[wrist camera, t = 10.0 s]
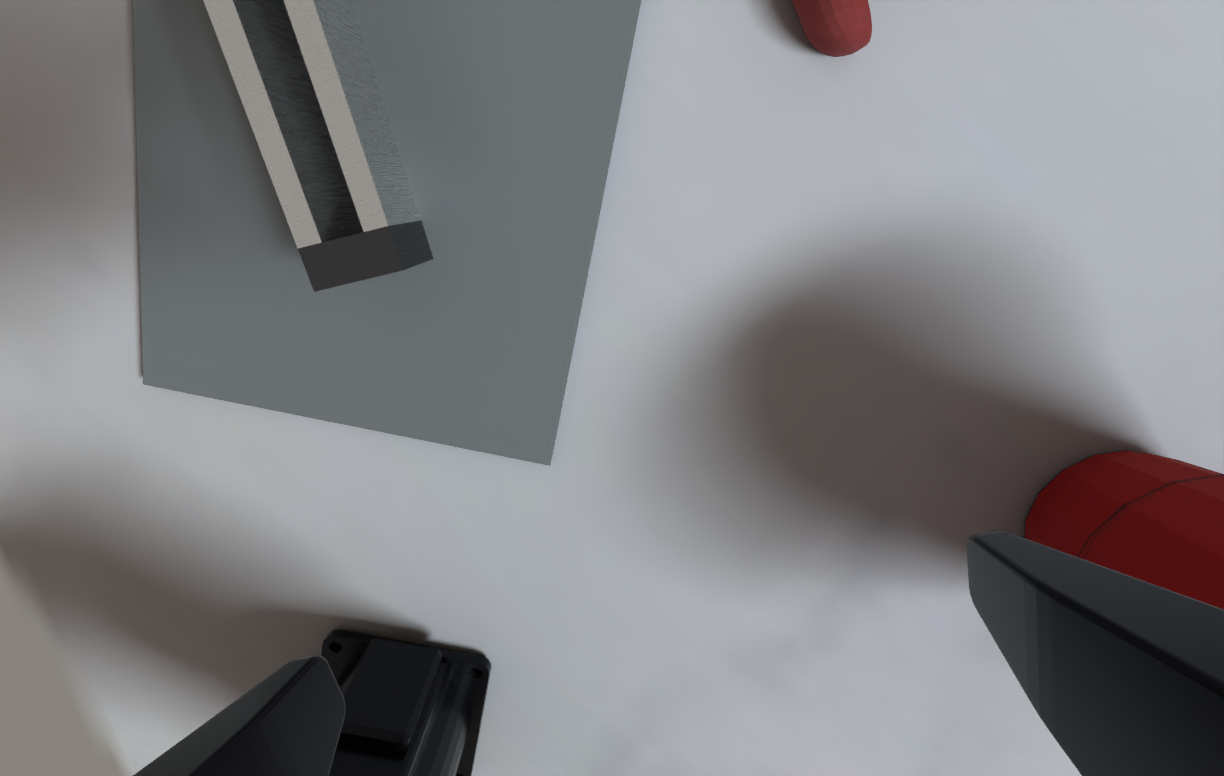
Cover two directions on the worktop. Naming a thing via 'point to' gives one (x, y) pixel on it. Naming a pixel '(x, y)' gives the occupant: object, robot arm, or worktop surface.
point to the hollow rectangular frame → (323, 135)
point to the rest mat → (381, 306)
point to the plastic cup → (1139, 520)
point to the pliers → (835, 24)
